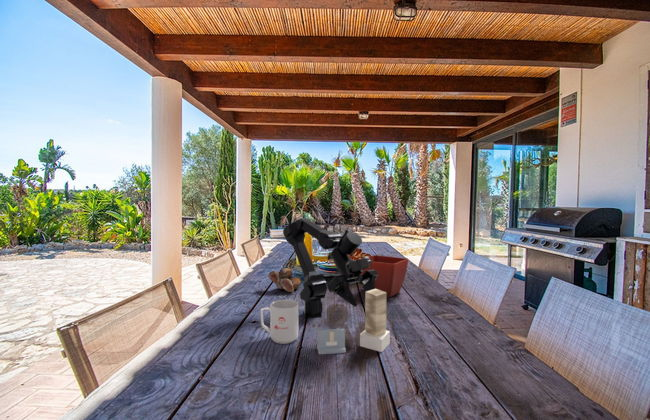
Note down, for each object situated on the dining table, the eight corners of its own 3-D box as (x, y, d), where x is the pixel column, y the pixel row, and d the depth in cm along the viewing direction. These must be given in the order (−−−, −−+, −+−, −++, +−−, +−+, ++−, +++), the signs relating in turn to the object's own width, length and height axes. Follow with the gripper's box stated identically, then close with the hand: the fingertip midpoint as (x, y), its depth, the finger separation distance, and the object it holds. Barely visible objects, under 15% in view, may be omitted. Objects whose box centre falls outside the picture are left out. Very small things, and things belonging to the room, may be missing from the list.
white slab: (359, 347, 92) (360, 333, 91) (369, 338, 98) (369, 326, 97) (381, 353, 88) (381, 339, 88) (389, 343, 94) (390, 331, 94)
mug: (299, 333, 100) (299, 299, 100) (296, 345, 92) (297, 308, 91) (263, 332, 101) (263, 299, 100) (257, 344, 92) (257, 308, 92)
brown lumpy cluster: (265, 273, 158) (269, 270, 144) (294, 265, 163) (301, 261, 150) (272, 298, 155) (276, 297, 141) (301, 289, 161) (308, 287, 147)
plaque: (318, 354, 86) (318, 333, 86) (316, 347, 90) (317, 328, 90) (345, 352, 87) (346, 332, 87) (342, 346, 91) (343, 326, 91)
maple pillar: (365, 330, 93) (365, 291, 92) (375, 326, 96) (375, 288, 95) (376, 336, 90) (376, 295, 89) (386, 332, 92) (386, 292, 91)
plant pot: (374, 285, 162) (374, 254, 162) (408, 292, 151) (409, 258, 151) (356, 293, 146) (356, 259, 146) (393, 301, 135) (393, 264, 135)
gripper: (334, 250, 93) (358, 295, 85) (374, 246, 105) (399, 284, 97) (318, 271, 100) (339, 314, 91) (358, 265, 111) (380, 302, 103)
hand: (366, 303), depth 95 cm, fingers open, 9 cm apart
